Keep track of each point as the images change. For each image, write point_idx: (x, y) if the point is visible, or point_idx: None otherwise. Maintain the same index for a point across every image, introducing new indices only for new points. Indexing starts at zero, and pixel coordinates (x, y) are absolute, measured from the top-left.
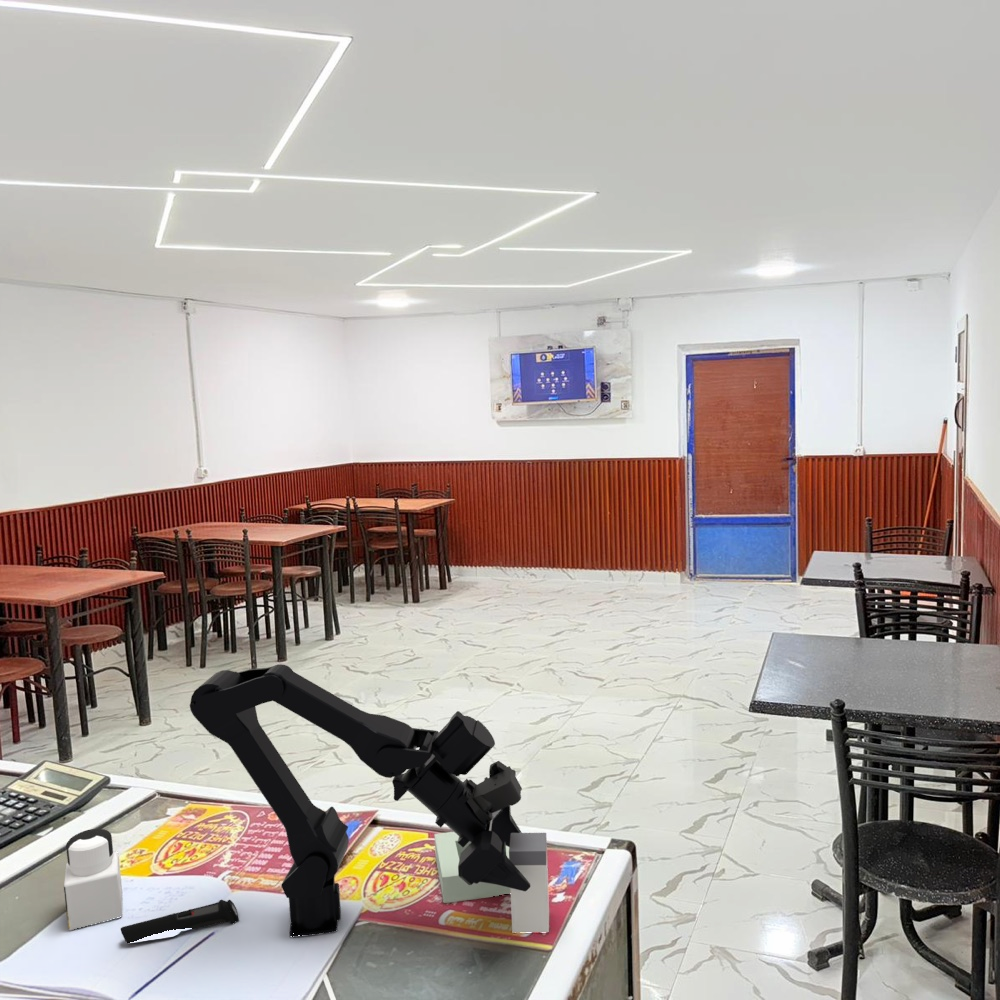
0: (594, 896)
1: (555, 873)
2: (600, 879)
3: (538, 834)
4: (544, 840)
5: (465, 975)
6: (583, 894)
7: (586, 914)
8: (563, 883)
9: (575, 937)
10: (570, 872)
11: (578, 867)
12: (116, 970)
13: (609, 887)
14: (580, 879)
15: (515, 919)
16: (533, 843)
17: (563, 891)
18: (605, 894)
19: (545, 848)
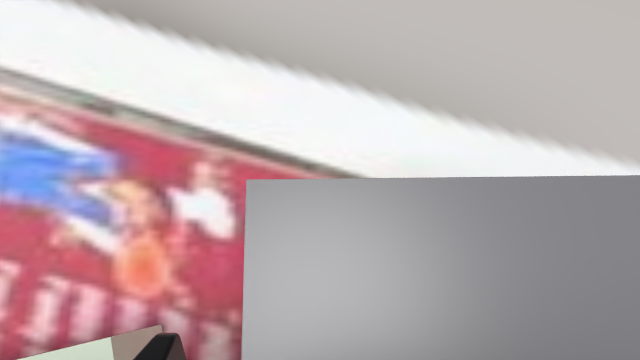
0: (206, 82)
1: (37, 225)
2: (98, 59)
3: (283, 269)
4: (420, 196)
5: None
6: (191, 120)
7: (316, 112)
8: (112, 193)
9: (453, 151)
10: (38, 166)
11: (6, 136)
12: None
13: (152, 31)
14: (91, 129)
15: None
16: (498, 325)
17: (167, 193)
18: (195, 45)
19: (604, 180)
